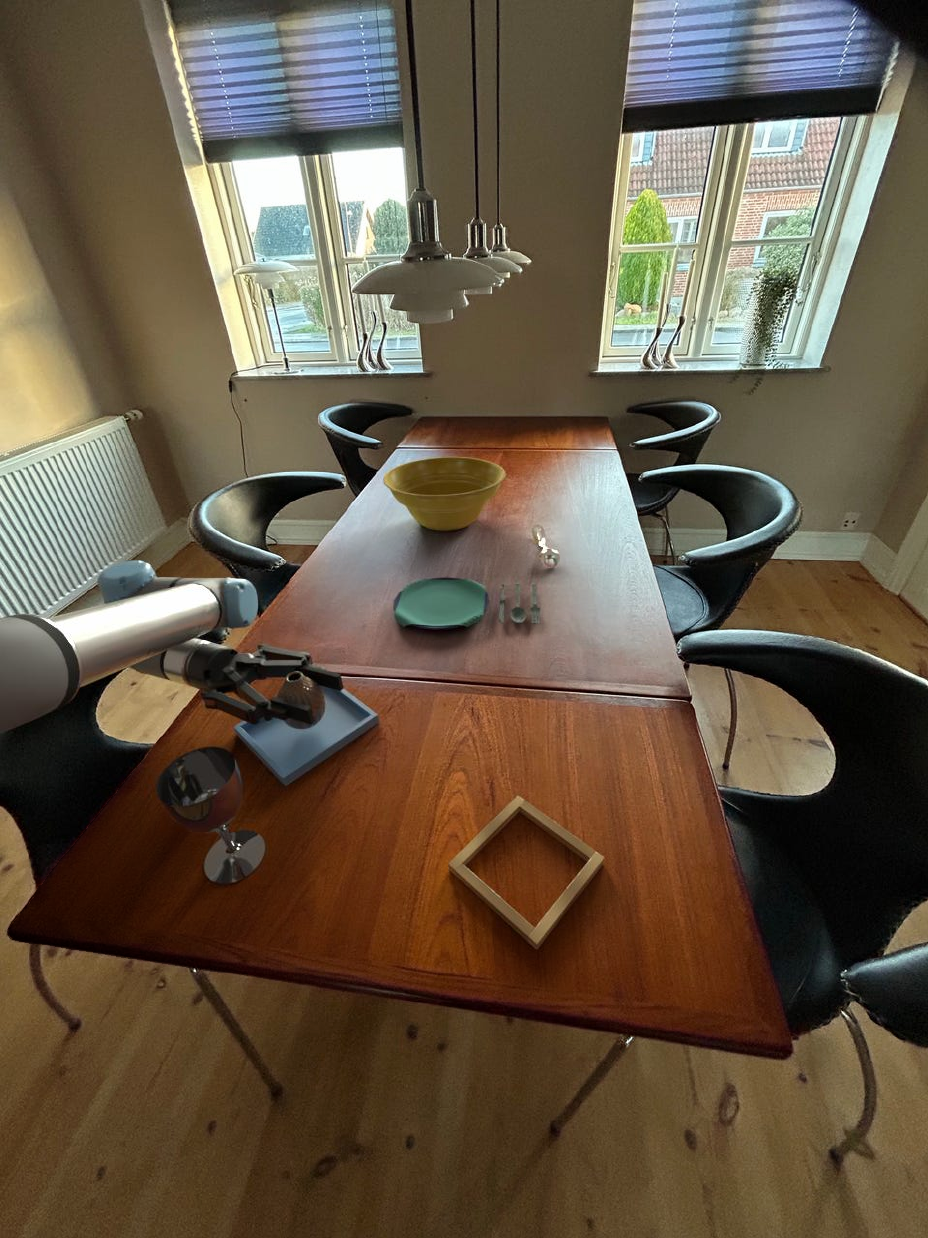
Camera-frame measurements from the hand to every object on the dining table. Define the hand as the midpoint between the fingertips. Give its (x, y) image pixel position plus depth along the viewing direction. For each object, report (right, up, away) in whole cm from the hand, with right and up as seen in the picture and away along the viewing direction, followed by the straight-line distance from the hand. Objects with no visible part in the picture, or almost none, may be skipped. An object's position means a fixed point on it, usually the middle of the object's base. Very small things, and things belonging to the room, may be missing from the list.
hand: (326, 698), depth 76 cm
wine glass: (-8, -18, -12) cm, 23 cm away
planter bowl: (+15, +39, +71) cm, 82 cm away
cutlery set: (+20, +13, +33) cm, 41 cm away
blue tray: (-4, -6, +6) cm, 9 cm away
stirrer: (+40, +29, +55) cm, 73 cm away
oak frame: (+27, -18, -14) cm, 35 cm away
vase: (-4, -4, +5) cm, 8 cm away
